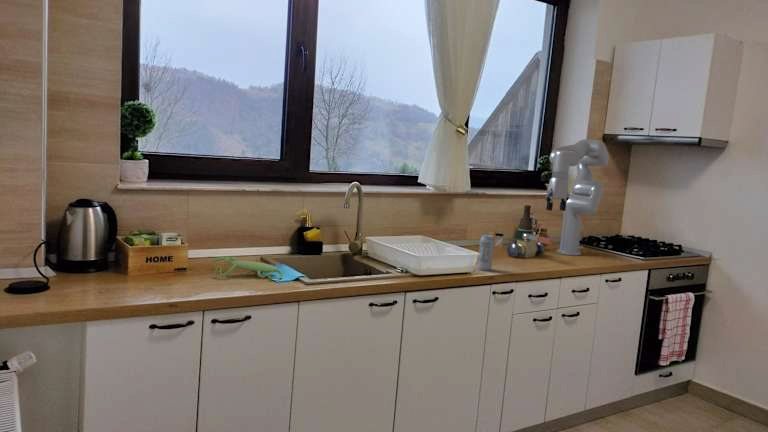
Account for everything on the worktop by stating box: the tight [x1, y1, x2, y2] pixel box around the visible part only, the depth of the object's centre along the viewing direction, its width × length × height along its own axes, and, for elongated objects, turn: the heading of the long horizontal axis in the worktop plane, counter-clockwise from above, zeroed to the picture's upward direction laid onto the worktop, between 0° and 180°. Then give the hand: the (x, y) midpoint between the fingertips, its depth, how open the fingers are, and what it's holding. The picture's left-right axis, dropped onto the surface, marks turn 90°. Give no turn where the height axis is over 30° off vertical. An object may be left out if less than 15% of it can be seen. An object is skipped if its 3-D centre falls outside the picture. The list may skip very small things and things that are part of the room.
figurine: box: [212, 255, 284, 281], centre depth 222 cm, size 18×27×6 cm
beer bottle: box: [515, 204, 534, 244], centre depth 321 cm, size 8×8×24 cm
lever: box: [523, 233, 555, 245], centre depth 295 cm, size 4×18×2 cm, turn 35°
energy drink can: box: [477, 234, 495, 272], centre depth 262 cm, size 6×6×15 cm
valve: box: [506, 239, 545, 259], centre depth 302 cm, size 20×7×9 cm, turn 125°
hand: (555, 210), depth 294 cm, fingers open, 9 cm apart
